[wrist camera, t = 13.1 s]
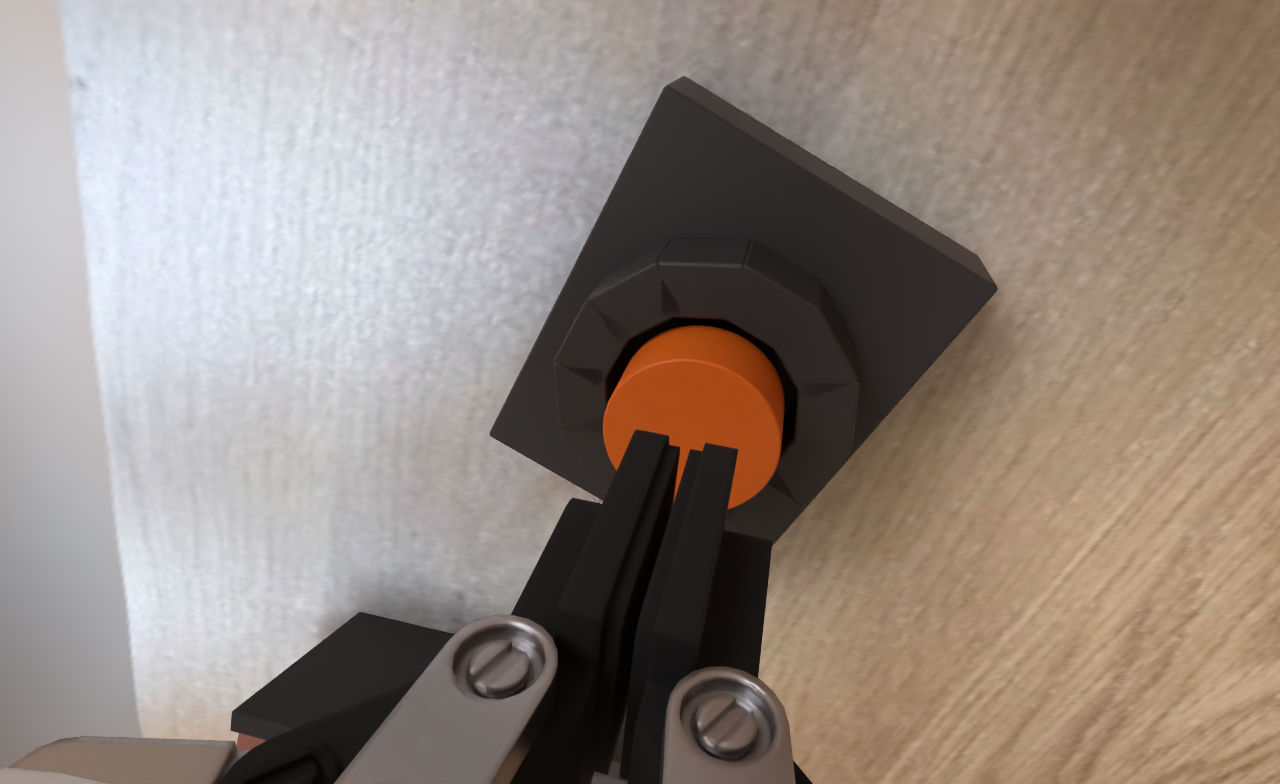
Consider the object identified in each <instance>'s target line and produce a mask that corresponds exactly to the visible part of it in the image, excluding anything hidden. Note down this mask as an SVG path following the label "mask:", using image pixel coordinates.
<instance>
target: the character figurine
mask: <svg viewBox="0 0 1280 784" xmlns="http://www.w3.org/2000/svg"><path fill="white" fill-rule="evenodd" d="M454 635H455V634H450V633H446V632H442V631H438V630H434V629H429V628H425V627H421V626H417V625H413V624H408V623H404V622H400V621H396V620H392V619H387V618H383V617H379V616H375V615H371V614H366V613H362V612H359V613H358V614H357V615H355V616H354V617H353V618H351V619H350V620H349V621H348V622H346V623H345V624H344V625H342V626H341V627H340V628H339V629H337V630H336V631H335V632H333V633H332V634H331V635H330V636H328V637H327V638H326V639H324V640H323V641H322V642H321V643H319V644H318V645H317V646H315V647H314V648H313V649H312V650H310V651H309V652H308V653H306V654H305V655H304V656H303V657H301V658H300V659H299V660H297V661H296V662H295V663H294V664H292V665H291V666H290V667H289V668H287V669H286V670H285V671H283V672H282V673H281V674H280V675H278V676H277V677H276V678H274V679H273V680H272V681H271V682H269V683H268V684H267V685H265V686H264V687H263V688H262V689H260V690H259V691H258V692H256V693H255V694H254V695H253V696H251V697H250V698H249V699H247V700H246V701H245V702H244V703H242V704H241V705H240V706H238V707H237V708H236V709H235V710H233V711H232V718H231V731H234V732H238V733H239V736H238V740H237V750H251V749H252V748H254V747H256V746H258V745H260V744H261V743H263V742H265V741H267V740H269V739H271V738H273V737H275V736H278V735H280V734H283V733H285V732H287V731H290V730H292V729H295V728H297V727H300V726H302V725H305V724H307V723H310V722H312V721H315V720H317V719H320V718H322V717H325V716H327V715H330V714H332V713H335V712H337V711H340V710H342V709H345V708H347V707H349V706H352V705H354V704H357V703H359V702H362V701H364V700H367V699H369V698H372V697H374V696H377V695H379V694H382V693H384V692H387V691H389V690H392V689H394V688H397V687H399V686H402V685H404V684H407V683H409V682H411V681H414V680H416V679H418V678H419V677H420V676H421V674H422V673H423V672H424V671H425V669H426V668H427V667H428V666H429V664H430V663H431V662H432V661H433V660H434V658H435V657H436V656H437V655H438V653H439V652H440V651H441V650H442V648H443V647H444V646H445V645H446V643H447V642H448V641H449V640H450V639H451V638H452V637H453V636H454ZM626 712H627V711H626ZM625 721H626V714H625V718H624V721H623V725H622V728H621V732H620V735H619V739H618V743H617V746H616V750H615V753H614V757H613V760H612V764H611V767H610V770H609V773H608V775H605V774H601V773H597V772H594V775H593V779H592V782H591V784H628V781H627V780H623V779H620V778H619V774H620V765H621V756H622V748H623V739H624V730H625Z"/></svg>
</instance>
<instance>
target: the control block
mask: <svg viewBox="0 0 1280 784" xmlns="http://www.w3.org/2000/svg"><path fill="white" fill-rule="evenodd" d="M997 289H998V288H997V286H996V284H995V283H994V281H993V279H992V278H991V276H990V275H989V273H988V271H987V270H986V268H985V267H984V265H983V263H982V262H981V260H980V258H979V257H978V256H977V255H976V254H974V253H972V252H971V251H969V250H967V249H966V248H964V247H962V246H961V245H959V244H958V243H956V242H954V241H953V240H951V239H949V238H948V237H946V236H945V235H943V234H941V233H940V232H938V231H936V230H935V229H933V228H932V227H930V226H928V225H927V224H925V223H923V222H922V221H920V220H918V219H917V218H915V217H914V216H912V215H910V214H909V213H907V212H905V211H904V210H902V209H901V208H899V207H897V206H896V205H894V204H892V203H891V202H889V201H888V200H886V199H884V198H883V197H881V196H879V195H878V194H876V193H874V192H873V191H871V190H870V189H868V188H866V187H865V186H863V185H861V184H860V183H858V182H857V181H855V180H853V179H852V178H850V177H848V176H847V175H845V174H843V173H842V172H840V171H839V170H837V169H835V168H834V167H832V166H830V165H829V164H827V163H826V162H824V161H822V160H821V159H819V158H817V157H816V156H814V155H813V154H811V153H809V152H808V151H806V150H804V149H803V148H801V147H799V146H798V145H796V144H795V143H793V142H791V141H790V140H788V139H786V138H785V137H783V136H782V135H780V134H778V133H777V132H775V131H773V130H772V129H770V128H769V127H767V126H765V125H764V124H762V123H760V122H759V121H757V120H755V119H754V118H752V117H751V116H749V115H747V114H746V113H744V112H742V111H741V110H739V109H738V108H736V107H734V106H733V105H731V104H729V103H728V102H726V101H724V100H723V99H721V98H720V97H718V96H716V95H715V94H713V93H711V92H710V91H708V90H707V89H705V88H703V87H702V86H700V85H698V84H697V83H695V82H694V81H692V80H690V79H689V78H687V77H681V78H679V79H677V80H676V81H674V82H672V83H670V84H668V85H666V86H665V87H664V89H663V91H662V93H661V95H660V97H659V99H658V100H657V102H656V104H655V106H654V108H653V110H652V112H651V114H650V116H649V118H648V120H647V122H646V124H645V126H644V128H643V130H642V132H641V134H640V136H639V138H638V140H637V142H636V144H635V146H634V148H633V150H632V152H631V154H630V156H629V158H628V160H627V162H626V164H625V166H624V168H623V170H622V172H621V174H620V176H619V178H618V180H617V182H616V184H615V186H614V188H613V190H612V191H611V193H610V195H609V197H608V199H607V201H606V203H605V205H604V207H603V209H602V211H601V213H600V215H599V217H598V219H597V221H596V223H595V225H594V227H593V229H592V231H591V233H590V235H589V237H588V239H587V241H586V243H585V245H584V247H583V249H582V251H581V253H580V255H579V257H578V259H577V261H576V263H575V265H574V267H573V269H572V271H571V273H570V275H569V277H568V279H567V281H566V282H565V284H564V286H563V288H562V290H561V292H560V294H559V296H558V298H557V300H556V302H555V304H554V306H553V308H552V310H551V312H550V314H549V316H548V318H547V320H546V322H545V324H544V326H543V328H542V330H541V332H540V334H539V336H538V338H537V340H536V342H535V344H534V346H533V348H532V350H531V352H530V354H529V356H528V358H527V360H526V362H525V364H524V366H523V368H522V370H521V372H520V373H519V375H518V377H517V379H516V381H515V383H514V385H513V387H512V389H511V391H510V393H509V395H508V397H507V399H506V401H505V403H504V405H503V407H502V409H501V411H500V413H499V415H498V417H497V419H496V421H495V423H494V425H493V427H492V429H491V431H490V436H491V437H493V438H495V439H496V440H498V441H500V442H502V443H503V444H505V445H507V446H509V447H510V448H512V449H514V450H516V451H517V452H519V453H521V454H523V455H524V456H526V457H528V458H530V459H531V460H533V461H535V462H537V463H538V464H540V465H542V466H544V467H545V468H547V469H549V470H551V471H552V472H554V473H556V474H558V475H559V476H561V477H563V478H565V479H566V480H568V481H570V482H572V483H573V484H575V485H577V486H579V487H580V488H582V489H584V490H586V491H587V492H589V493H591V494H593V495H594V496H596V497H598V498H600V499H601V500H603V501H604V499H605V497H606V494H607V492H608V490H609V487H610V485H611V483H612V481H613V478H614V476H615V474H616V472H617V471H616V469H615V467H614V466H613V464H612V462H611V460H610V458H609V455H608V453H607V450H606V446H605V443H604V436H603V420H604V414H605V410H606V407H607V404H608V402H609V400H610V398H611V396H612V394H613V392H614V390H615V388H616V386H617V384H618V383H619V381H620V379H621V377H622V375H623V373H624V371H625V369H626V368H627V366H628V364H629V362H630V360H631V359H632V357H633V356H634V354H635V353H636V352H637V351H638V350H639V349H640V347H641V346H642V345H644V344H645V343H646V342H647V341H649V340H650V339H651V338H653V337H655V336H656V335H658V334H660V333H663V332H665V331H667V330H670V329H674V328H678V327H683V326H690V325H703V326H712V327H717V328H721V329H725V330H728V331H730V332H733V333H735V334H737V335H739V336H741V337H743V338H745V339H747V340H748V341H749V342H751V343H752V344H754V345H755V346H756V347H757V348H758V349H760V350H761V351H762V352H763V353H764V354H765V355H766V357H767V358H768V359H769V360H770V361H771V363H772V364H773V366H774V368H775V369H776V371H777V373H778V375H779V377H780V380H781V383H782V386H783V391H784V397H785V410H784V421H783V433H782V444H781V452H780V458H779V461H778V465H777V468H776V470H775V472H774V474H773V476H772V477H771V479H770V480H769V482H768V483H767V484H766V485H765V486H764V488H763V489H762V490H761V491H760V492H759V493H757V494H756V495H755V496H754V497H752V498H751V499H749V500H748V501H746V502H744V503H743V504H741V505H738V506H736V507H734V508H731V509H728V511H727V516H726V522H725V527H724V530H727V531H731V532H736V533H741V534H746V535H750V536H755V537H760V538H764V539H769V540H772V546H773V545H774V544H775V542H776V541H777V540H778V539H779V538H780V537H781V536H782V534H783V533H784V532H785V531H786V530H787V529H788V528H789V527H790V525H791V524H792V523H793V522H794V521H795V520H796V519H797V517H798V516H799V515H800V514H801V513H802V512H803V511H804V509H805V508H806V507H807V506H808V505H809V504H810V503H811V502H812V500H813V499H814V498H815V497H816V496H817V495H818V494H819V492H820V491H821V490H822V489H823V488H824V487H825V486H826V484H827V483H828V482H829V481H830V480H831V479H832V478H833V476H834V475H835V474H836V473H837V472H838V471H839V470H840V469H841V467H842V466H843V465H844V464H845V463H846V462H847V461H848V459H849V458H850V457H851V456H852V455H853V454H854V453H855V451H856V450H857V449H858V448H859V447H860V446H861V445H862V444H863V442H864V441H865V440H866V439H867V438H868V437H869V436H870V434H871V433H872V432H873V431H874V430H875V429H876V428H877V426H878V425H879V424H880V423H881V422H882V421H883V420H884V419H885V417H886V416H887V415H888V414H889V413H890V412H891V411H892V409H893V408H894V407H895V406H896V405H897V404H898V403H899V401H900V400H901V399H902V398H903V397H904V396H905V395H906V393H907V392H908V391H909V390H910V389H911V388H912V387H913V386H914V384H915V383H916V382H917V381H918V380H919V379H920V378H921V376H922V375H923V374H924V373H925V372H926V371H927V370H928V368H929V367H930V366H931V365H932V364H933V363H934V362H935V361H936V359H937V358H938V357H939V356H940V355H941V354H942V353H943V351H944V350H945V349H946V348H947V347H948V346H949V345H950V343H951V342H952V341H953V340H954V339H955V338H956V337H957V336H958V334H959V333H960V332H961V331H962V330H963V329H964V328H965V326H966V325H967V324H968V323H969V322H970V321H971V320H972V318H973V317H974V316H975V315H976V314H977V313H978V312H979V310H980V309H981V308H982V307H983V306H984V305H985V304H986V303H987V301H988V300H989V299H990V298H991V297H992V296H993V295H994V293H995V292H996V291H997Z"/></svg>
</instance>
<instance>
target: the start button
mask: <svg viewBox="0 0 1280 784" xmlns="http://www.w3.org/2000/svg"><path fill="white" fill-rule="evenodd" d="M784 410H785V397H784V391H783V386H782V383H781V380H780V377H779V375H778V373H777V371H776V369H775V368H774V366H773V364H772V363H771V361H770V360H769V359H768V358H767V357H766V355H765V354H764V353H763V352H762V351H761V350H760V349H758V348H757V347H756V346H755V345H754V344H752V343H751V342H749V341H748V340H747V339H745V338H743V337H741V336H739V335H737V334H735V333H733V332H730V331H728V330H725V329H721V328H717V327H712V326H703V325H690V326H683V327H678V328H674V329H670V330H667V331H665V332H663V333H660V334H658V335H656V336H655V337H653V338H651V339H650V340H649V341H647V342H646V343H645V344H644V345H642V346H641V347H640V349H639V350H638V351H637V352H636V353H635V354H634V356H633V357H632V359H631V360H630V362H629V364H628V366H627V368H626V369H625V371H624V373H623V375H622V377H621V379H620V381H619V383H618V384H617V386H616V388H615V390H614V392H613V394H612V396H611V398H610V400H609V402H608V404H607V407H606V410H605V414H604V420H603V436H604V443H605V446H606V450H607V453H608V455H609V458H610V460H611V462H612V464H613V466H614V467H615V469H616V471H617V469H618V467H619V465H620V462H621V460H622V458H623V456H624V453H625V451H626V449H627V447H628V444H629V442H630V440H631V438H632V435H633V433H634V431H635V430H636V429H638V430H643V431H649V432H654V433H659V434H664V435H669V445H674V446H679V447H680V457H679V464H678V472H677V479H676V487H675V494H674V500H675V497H676V494H677V491H678V487H679V484H680V481H681V477H682V474H683V471H684V467H685V464H686V461H687V458H688V454H689V451H690V449H694V450H699V451H703V448H704V445H705V443H710V444H715V445H721V446H726V447H731V448H736V449H739V450H738V455H737V461H736V467H735V472H734V478H733V483H732V489H731V494H730V500H729V505H728V509H731V508H734V507H736V506H738V505H741V504H743V503H744V502H746V501H748V500H749V499H751V498H752V497H754V496H755V495H756V494H757V493H759V492H760V491H761V490H762V489H763V488H764V486H765V485H766V484H767V483H768V482H769V480H770V479H771V477H772V476H773V474H774V472H775V470H776V468H777V465H778V461H779V458H780V452H781V444H782V433H783V421H784ZM673 504H674V502H673Z"/></svg>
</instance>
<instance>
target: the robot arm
mask: <svg viewBox="0 0 1280 784" xmlns="http://www.w3.org/2000/svg"><path fill="white" fill-rule="evenodd" d="M738 450H739V449H736V448H731V447H726V446H721V445H715V444H710V443H705V445H704V448H703V451H699V450H694V449H690V451H689V454H688V458H687V461H686V464H685V467H684V471H683V474H682V477H681V481H680V484H679V487H678V491H677V494H676V497H675V500H674V494H675V487H676V479H677V472H678V464H679V457H680V447H679V446H674V445H669V435H664V434H659V433H654V432H649V431H643V430H638V429H636V430H635V431H634V433H633V435H632V438H631V440H630V442H629V444H628V447H627V449H626V451H625V453H624V456H623V458H622V460H621V462H620V465H619V467H618V469H617V472H616V474H615V476H614V478H613V481H612V483H611V485H610V487H609V490H608V492H607V494H606V497H605V499H604V501H603V503H602V504H600V503H595V502H590V501H585V500H581V499H576V498H572V499H571V500H570V501H569V503H568V504H567V506H566V508H565V510H564V511H563V513H562V515H561V517H560V519H559V521H558V523H557V525H556V527H555V529H554V531H553V533H552V535H551V537H550V539H549V541H548V543H547V545H546V547H545V549H544V551H543V553H542V555H541V557H540V559H539V561H538V563H537V565H536V567H535V569H534V571H533V573H532V574H531V576H530V578H529V580H528V582H527V584H526V586H525V588H524V590H523V592H522V594H521V596H520V598H519V600H518V602H517V604H516V606H515V608H514V610H513V612H512V614H511V615H494V616H490V617H486V618H482V619H478V620H476V621H474V622H472V623H470V624H468V625H467V626H465V627H463V628H461V629H460V630H459V631H458V632H457V633H456V634H455V635H454V636H453V637H452V638H451V639H450V640H449V641H448V642H447V643H446V645H445V646H444V647H443V648H442V650H441V651H440V652H439V653H438V655H437V656H436V657H435V658H434V660H433V661H432V662H431V663H430V664H429V666H428V667H427V668H426V669H425V671H424V672H423V673H422V674H421V676H420V677H419V678H418V679H416V680H414V681H411V682H409V683H407V684H404V685H402V686H399V687H397V688H394V689H392V690H389V691H387V692H384V693H382V694H379V695H377V696H374V697H372V698H369V699H367V700H364V701H362V702H359V703H357V704H354V705H352V706H349V707H347V708H345V709H342V710H340V711H337V712H335V713H332V714H330V715H327V716H325V717H322V718H320V719H317V720H315V721H312V722H310V723H307V724H305V725H302V726H300V727H297V728H295V729H292V730H290V731H287V732H285V733H283V734H280V735H278V736H275V737H273V738H271V739H269V740H267V741H265V742H263V743H261V744H260V745H258V746H256V747H254V748H252V749H251V750H237V747H236V743H235V741H214V740H185V739H155V738H124V737H93V736H81V737H73V738H65V739H60V740H57V741H54V742H52V743H49V744H47V745H44V746H41V747H39V748H37V749H35V750H33V751H32V752H30V753H28V754H27V755H25V756H24V757H22V758H21V759H19V760H18V761H16V762H15V763H13V764H12V765H11V766H10V767H9V768H0V784H591V782H592V779H593V775H594V772H597V773H601V774H605V775H608V773H609V770H610V767H611V764H612V760H613V757H614V753H615V750H616V746H617V743H618V739H619V735H620V732H621V728H622V725H623V721H624V718H625V714H626V721H625V730H624V739H623V748H622V756H621V765H620V774H619V778H620V779H623V780H627V781H628V784H812V782H811V781H810V780H809V779H808V778H807V776H806V775H805V774H804V773H803V772H802V770H801V769H800V768H799V767H798V765H797V764H796V763H795V762H794V761H793V756H792V747H791V738H790V729H789V723H788V719H787V716H786V712H785V709H784V706H783V705H782V703H781V702H780V700H779V699H778V697H777V696H776V694H775V693H774V692H773V691H772V690H771V689H770V688H769V687H768V686H767V685H766V684H765V683H763V682H762V681H761V680H760V679H758V672H759V663H760V653H761V644H762V634H763V625H764V615H765V606H766V597H767V587H768V578H769V568H770V559H771V549H772V540H769V539H764V538H760V537H755V536H750V535H746V534H741V533H736V532H731V531H727V530H724V527H725V522H726V516H727V511H728V505H729V500H730V494H731V489H732V483H733V478H734V472H735V467H736V461H737V455H738ZM673 502H674V504H673ZM626 711H627V712H626Z"/></svg>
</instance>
